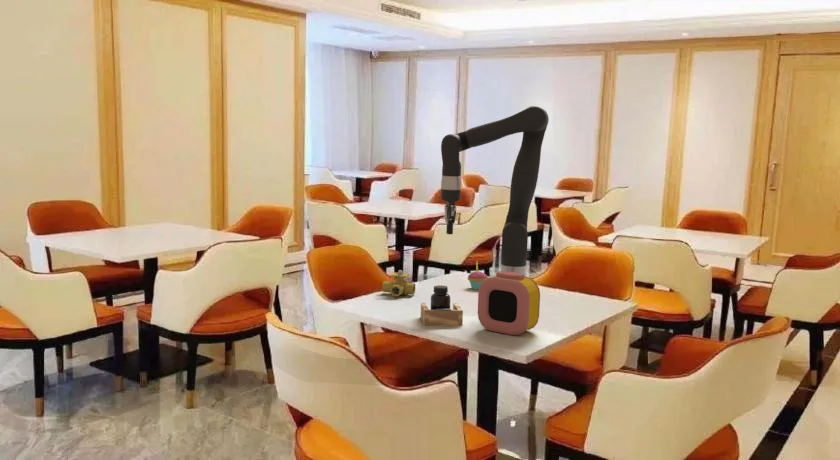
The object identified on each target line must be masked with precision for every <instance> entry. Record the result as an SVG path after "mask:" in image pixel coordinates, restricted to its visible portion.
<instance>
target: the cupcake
mask: <svg viewBox="0 0 840 460" xmlns="http://www.w3.org/2000/svg"><path fill="white" fill-rule="evenodd" d="M478 264H479V262H478V261H476V263H475V265H476V267H475V268H476V269H475V270H476V271H473V272H470V273H469V274H467V275H468V276H467V280H468V281H469V284H470V286H471V289H472V290H479V287H480V285H481V283H482V282H483V280H485V279H487V278H488V277H489V276H488V275H487V274H486V273H485V272H481V271H479V266H478Z"/></svg>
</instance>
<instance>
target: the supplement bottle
mask: <svg viewBox="0 0 840 460" xmlns="http://www.w3.org/2000/svg"><path fill="white" fill-rule="evenodd" d="M448 289H449V288H448V286H447V285H442V284H441V285H439V284H438V285H434V286H433V294H431V295H430V310H436V309H451V295H450V294H449V293H448V291H449V290H448Z"/></svg>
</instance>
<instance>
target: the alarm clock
mask: <svg viewBox="0 0 840 460" xmlns="http://www.w3.org/2000/svg"><path fill="white" fill-rule="evenodd" d="M540 291H541V290H540V287H539V286H538V284H537V282H536V281H535V280H533V279H532V278H531V277H527V275H526V276H524V274H520V273H514V272H505V271H501V270H500V271H497V272H496V273H495V276H490V277H489V276H488V278H487V279H485V280H483V282H482V283H481V285H480V287H479V289H478V293H477V319H478V321H479V323H480V325H481V326H482V327H483V328H484V329H486V330H488V331H490V332H492V333H494V332H495V333H498V334H499V333H500V334H506V335H510V336H520V335H521V334H523V333H524V332H526V331H529V330H531V329H534V328H535V327H536V325H537V324H538V322H539V319H540V307H541V306H540V305H541V293H540Z"/></svg>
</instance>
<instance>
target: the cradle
mask: <svg viewBox="0 0 840 460" xmlns="http://www.w3.org/2000/svg"><path fill="white" fill-rule="evenodd" d="M463 317H464V310H463V309H462V307H461V306H460V305H459V304H458V303H457V302H453V305H452V308H450V309H436V310H431V309H429V308H428V306H427V304H426V303H425V302H424V303H423V302H420V319H421V322H422V324H423V325H424V326H463V323H464V322H463V319H464V318H463Z"/></svg>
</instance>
